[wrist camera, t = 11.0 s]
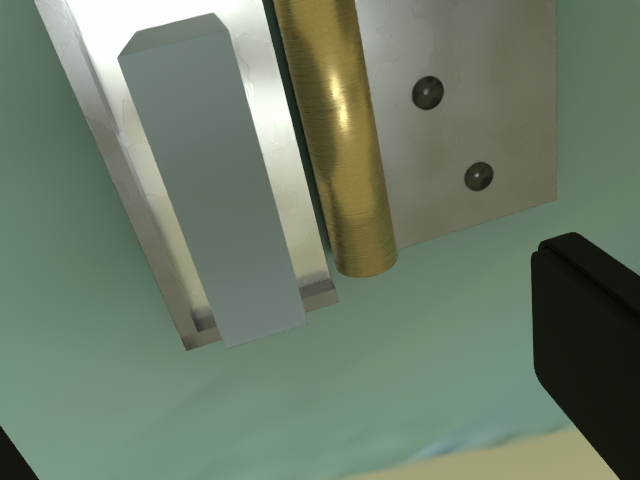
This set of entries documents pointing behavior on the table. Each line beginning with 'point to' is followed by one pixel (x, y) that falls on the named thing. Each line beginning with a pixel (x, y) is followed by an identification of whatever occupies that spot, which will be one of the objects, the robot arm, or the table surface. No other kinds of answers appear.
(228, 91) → the grey block
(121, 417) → the table surface
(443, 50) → the hinge base
